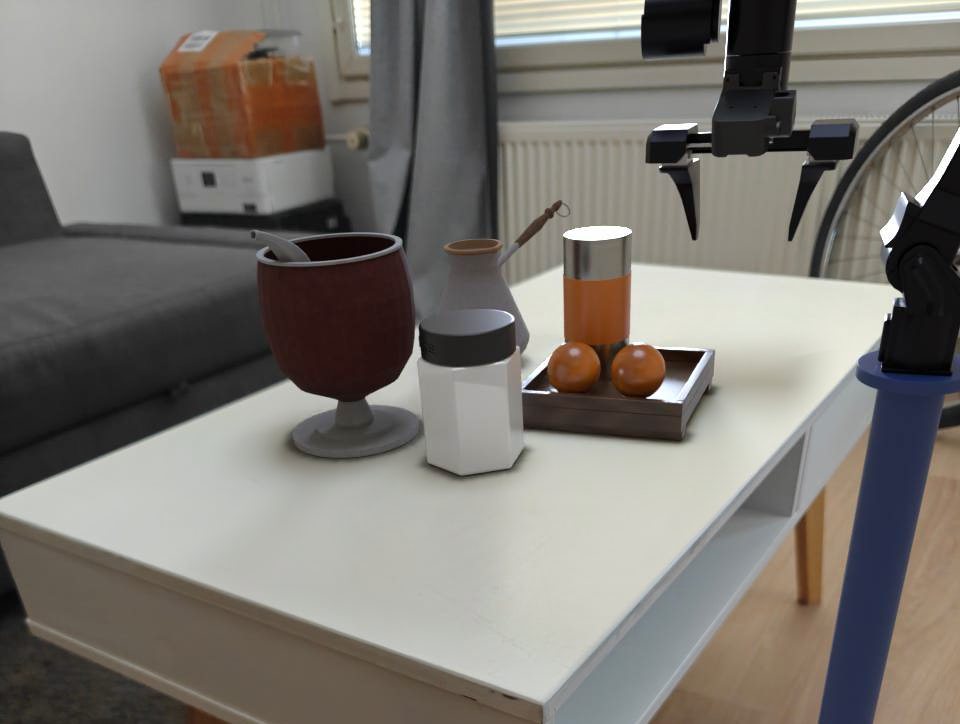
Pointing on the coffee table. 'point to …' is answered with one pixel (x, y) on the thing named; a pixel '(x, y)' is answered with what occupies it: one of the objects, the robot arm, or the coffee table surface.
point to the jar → (471, 390)
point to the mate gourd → (340, 333)
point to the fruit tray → (618, 390)
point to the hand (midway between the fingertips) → (741, 240)
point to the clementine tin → (598, 290)
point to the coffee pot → (487, 275)
